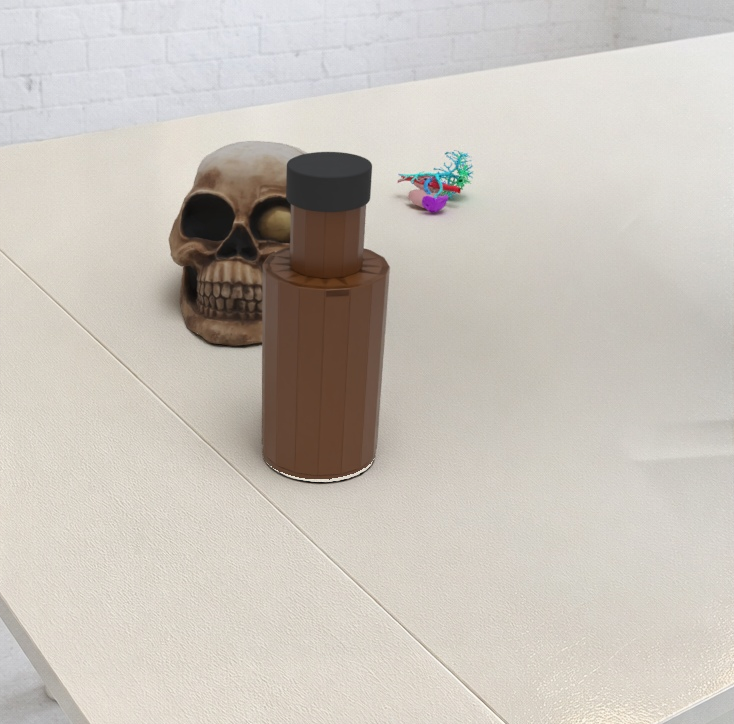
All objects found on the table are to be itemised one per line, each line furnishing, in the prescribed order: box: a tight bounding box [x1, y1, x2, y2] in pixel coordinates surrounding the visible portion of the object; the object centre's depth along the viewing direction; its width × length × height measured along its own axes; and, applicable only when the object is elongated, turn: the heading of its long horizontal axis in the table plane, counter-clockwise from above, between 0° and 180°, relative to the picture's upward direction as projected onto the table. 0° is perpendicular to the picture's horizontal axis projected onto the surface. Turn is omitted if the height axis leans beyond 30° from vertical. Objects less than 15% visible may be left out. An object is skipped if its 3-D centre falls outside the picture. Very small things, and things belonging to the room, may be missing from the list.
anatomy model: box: [397, 149, 474, 214], centre depth 114 cm, size 5×8×7 cm
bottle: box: [261, 204, 391, 480], centre depth 69 cm, size 7×7×17 cm
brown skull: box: [168, 140, 308, 347], centre depth 93 cm, size 16×17×13 cm
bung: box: [286, 151, 373, 212], centre depth 64 cm, size 5×5×4 cm
